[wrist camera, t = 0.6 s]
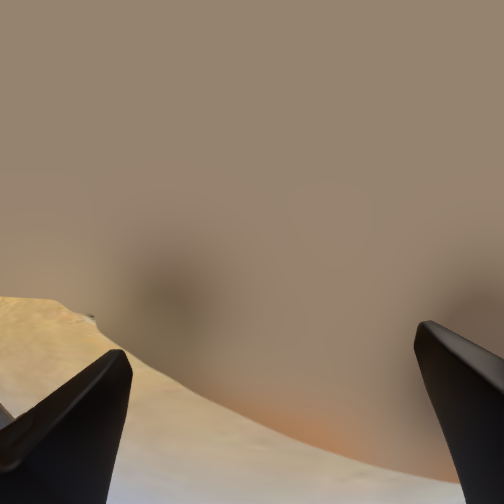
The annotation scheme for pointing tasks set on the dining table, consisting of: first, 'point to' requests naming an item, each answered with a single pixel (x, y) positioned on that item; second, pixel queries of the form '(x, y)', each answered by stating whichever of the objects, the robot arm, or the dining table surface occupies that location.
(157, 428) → the dining table surface
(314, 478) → the dining table surface
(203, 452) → the dining table surface
